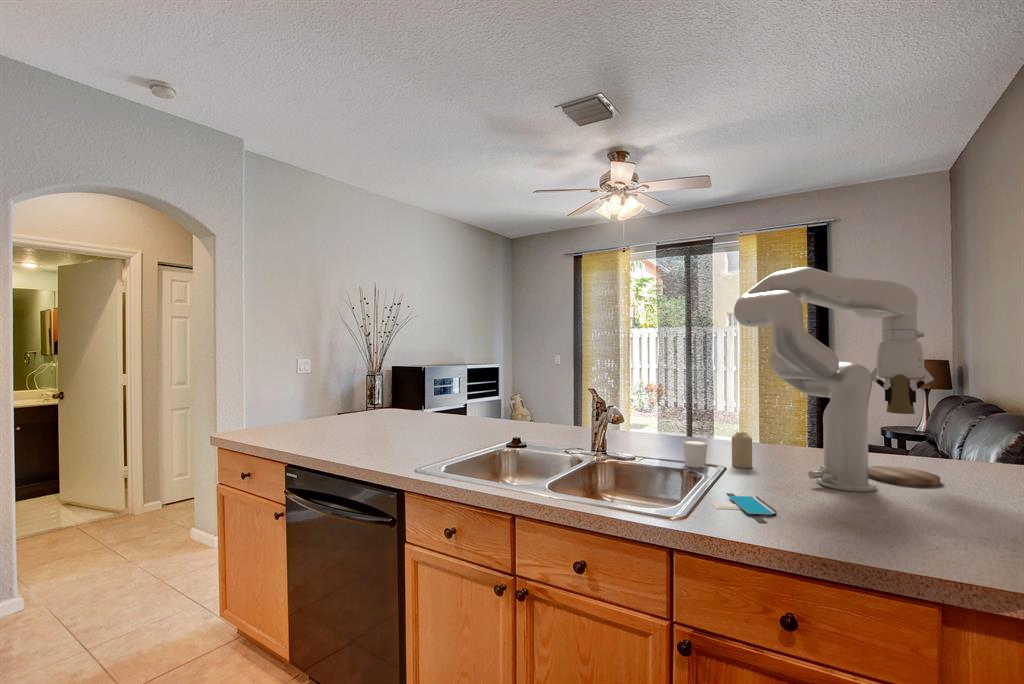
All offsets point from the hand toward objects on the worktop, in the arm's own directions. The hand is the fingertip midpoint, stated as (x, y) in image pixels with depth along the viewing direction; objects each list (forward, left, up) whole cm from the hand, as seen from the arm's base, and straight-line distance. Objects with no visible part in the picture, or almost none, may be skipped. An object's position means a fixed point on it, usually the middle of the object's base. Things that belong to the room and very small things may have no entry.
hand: (900, 403), depth 133 cm
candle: (-32, +22, -20) cm, 44 cm away
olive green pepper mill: (0, 0, -2) cm, 2 cm away
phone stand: (-57, -11, -21) cm, 62 cm away
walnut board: (0, 0, -20) cm, 20 cm away
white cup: (-45, +26, -20) cm, 56 cm away
